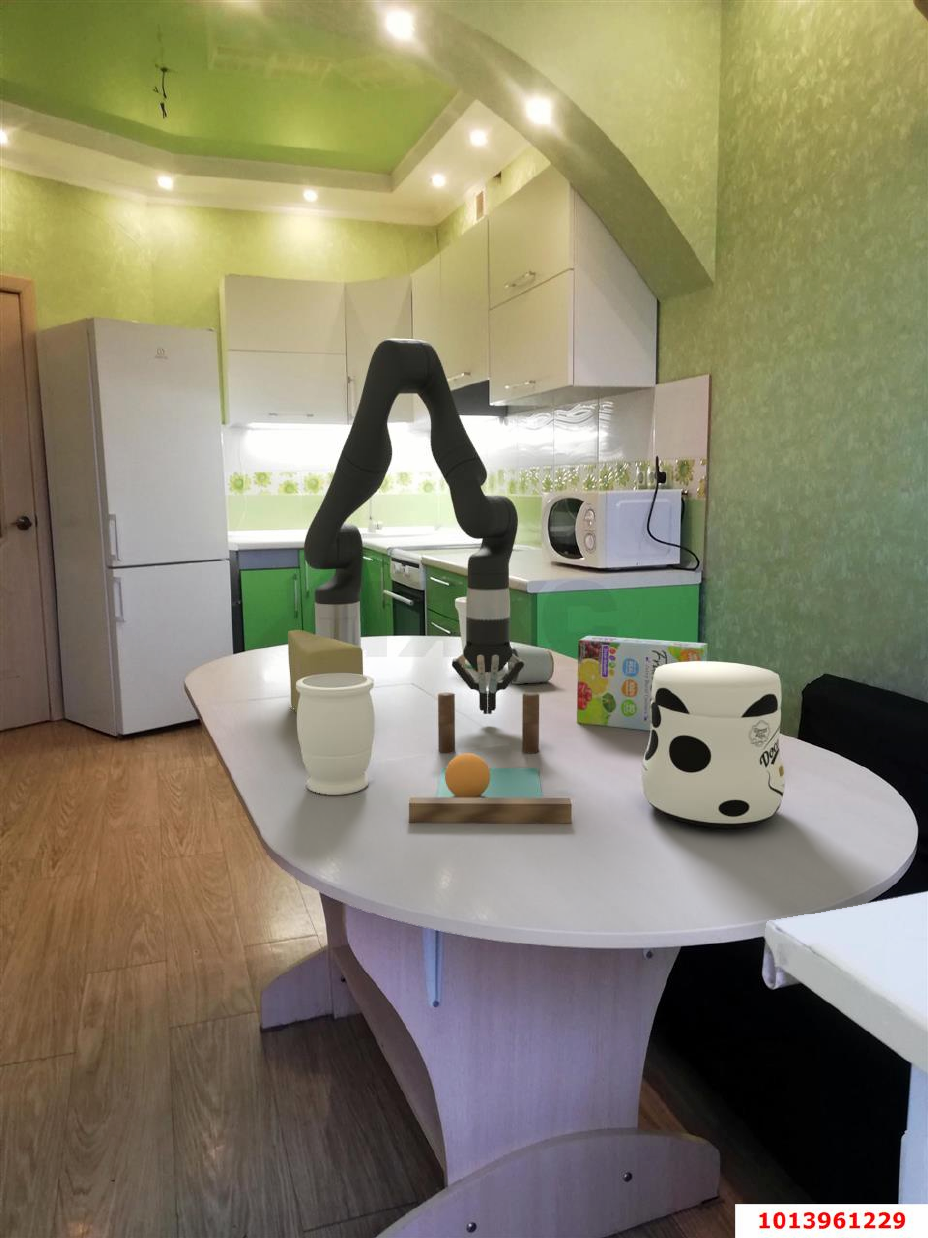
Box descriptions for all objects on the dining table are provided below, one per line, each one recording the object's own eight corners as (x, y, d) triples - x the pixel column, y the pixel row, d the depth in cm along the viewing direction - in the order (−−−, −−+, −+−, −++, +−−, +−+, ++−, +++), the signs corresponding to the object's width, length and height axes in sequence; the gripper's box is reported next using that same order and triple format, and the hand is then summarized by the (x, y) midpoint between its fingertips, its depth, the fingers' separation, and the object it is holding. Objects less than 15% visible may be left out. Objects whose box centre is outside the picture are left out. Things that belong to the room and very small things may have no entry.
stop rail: (409, 822, 106) (408, 803, 106) (410, 816, 108) (410, 797, 108) (571, 823, 106) (571, 803, 106) (569, 817, 108) (570, 798, 108)
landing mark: (435, 804, 112) (435, 803, 112) (441, 769, 126) (441, 768, 126) (543, 805, 112) (543, 803, 112) (536, 769, 126) (536, 768, 126)
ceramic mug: (556, 685, 178) (556, 648, 177) (518, 687, 176) (518, 650, 175) (537, 675, 189) (537, 640, 187) (501, 677, 186) (501, 642, 185)
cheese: (269, 710, 160) (266, 630, 158) (318, 703, 165) (316, 625, 163) (311, 740, 141) (308, 650, 139) (366, 731, 146) (364, 644, 144)
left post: (438, 753, 134) (437, 696, 132) (438, 748, 136) (438, 692, 135) (454, 753, 134) (454, 696, 132) (455, 748, 136) (454, 692, 135)
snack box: (705, 729, 146) (708, 642, 144) (699, 738, 141) (703, 648, 139) (584, 716, 155) (586, 633, 153) (575, 723, 150) (576, 638, 148)
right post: (522, 753, 133) (522, 696, 132) (521, 748, 136) (522, 692, 135) (539, 753, 133) (539, 696, 132) (538, 748, 136) (538, 692, 135)
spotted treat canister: (813, 830, 104) (822, 684, 101) (685, 847, 99) (691, 694, 96) (730, 782, 120) (736, 656, 117) (617, 795, 115) (620, 664, 112)
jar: (388, 778, 123) (386, 674, 120) (355, 803, 113) (353, 691, 111) (321, 770, 126) (318, 669, 124) (284, 794, 116) (280, 685, 114)
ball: (442, 804, 112) (443, 759, 111) (446, 789, 118) (447, 747, 117) (488, 807, 111) (490, 761, 111) (490, 792, 117) (491, 749, 117)
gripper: (448, 617, 143) (448, 718, 146) (528, 617, 143) (526, 719, 146) (450, 610, 151) (450, 707, 153) (525, 610, 150) (524, 707, 153)
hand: (487, 712), depth 149 cm, fingers closed
